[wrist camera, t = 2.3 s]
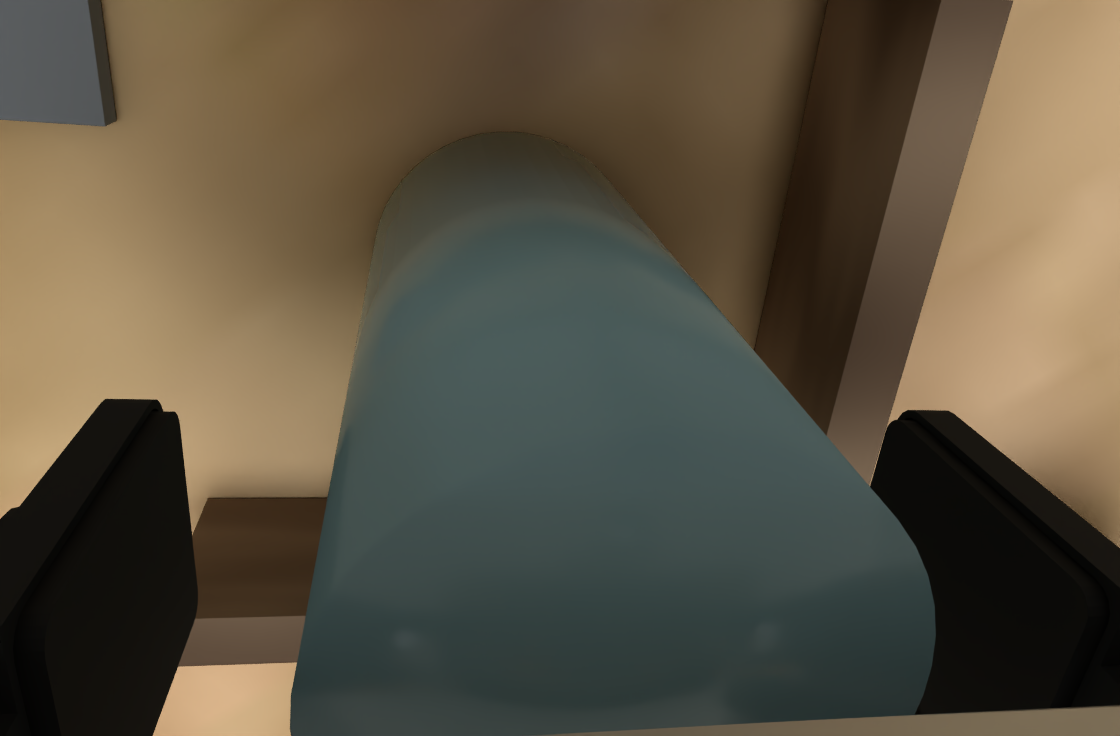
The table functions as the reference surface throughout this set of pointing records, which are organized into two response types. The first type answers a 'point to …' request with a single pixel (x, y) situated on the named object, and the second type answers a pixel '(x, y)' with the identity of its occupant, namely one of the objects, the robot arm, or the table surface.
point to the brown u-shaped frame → (792, 296)
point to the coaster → (54, 63)
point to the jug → (583, 489)
